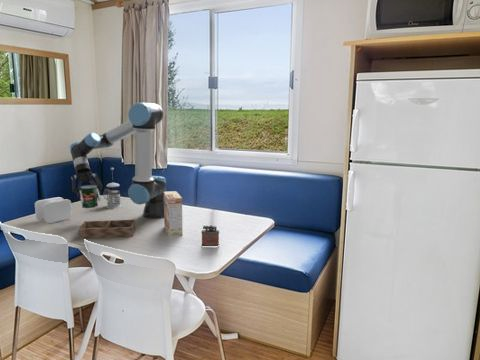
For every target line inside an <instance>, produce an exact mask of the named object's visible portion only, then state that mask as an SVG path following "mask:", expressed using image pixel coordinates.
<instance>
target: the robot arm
mask: <svg viewBox="0 0 480 360" xmlns="http://www.w3.org/2000/svg"><path fill="white" fill-rule="evenodd" d="M127 114H128V116H127V118H128V120H127V121H125V122H123V123H122V124H120V125H117V126H116V127H113V128H112V129H111V130H108V131H106V132H104V133H102V134H98V133H94V132H89V133H88V134H86V135H85V137H84V138H83V139H82V140H81V141H76V142H73V143H72V144H70V147H69V149H70V155H71V158H72V162H73V166H74V170H75V174H71V177H70V179H71V181H72V182H71V183H72V184H71V185H72V186H71V188H72V193H76V196H77V198H79V199H80V203H81V204H82V203H83V201H84V200H83V196H82V192H81V187H82V183H83V182H89V183H90V185H96V186H97V200H98V202H100V201H101V195H102V190H103V187H104V186H103V184H102V182H101V181H102V180H101V179H100V177H99V174H98V172H95V173H93V172H92V170H91V168H90V164H89V161H88V155H89V154H90V153H91V152H92V151H93V150H96V149H97V150H98V149H104V148H107V149H108V148H110V147H112V146H114V144H115V143H117V142H120V141H121V140H123V139H126V138H127V137H129V136H132V135H133V134H134V133H135V141H134V142H135V143H134V144H135V146H134V147H135V150H134V153H135V157H134V159H135V161H134V162H135V163H134V166H135V169H134V172H135V175H134V176H133V177H132V178H131V179H132V181H131V183H132V184H131V185H130V186H129V188H128V190H127V194H128V197H129V199H130V200H131V201H132V202H133V203H134V204H136V205H143V204H144V208H143V211H142V213H143V214H142V215H143V217H146V218H151V219H154V218H155V219H159V218H164V192H167V180H166V177H164V176H161V175H152V174H153V173H152V170H153V169H152V168H153V166H152V165H153V164H152V163H153V132H154V131H155V130H156V125H157V124H160V122H162V120H163V118H164V110H163V108H162V107H161V106H160V105H159V104H157V103H155V102H144V101H143V102H141V101H140V102H135V103H134V104H132V105H131V107H130V108H129V109H128V113H127ZM76 179H78V184H77V188H76ZM94 179H95V180H94ZM95 181H96V182H95Z"/></svg>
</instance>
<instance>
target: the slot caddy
mask: <svg viewBox="0 0 480 360" xmlns="http://www.w3.org/2000/svg"><path fill="white" fill-rule="evenodd" d="M136 227H137V226H136V219H116V220H115V219H113V220H85V221H83V223H82V224H81V225H80V226H79V228H78V229H77V234H78V239H79V238H81V239H100V238H101V239H102V238H126V237H127V238H129V237H133V236H134V234H135V231H136Z"/></svg>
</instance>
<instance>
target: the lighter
mask: <svg viewBox="0 0 480 360" xmlns="http://www.w3.org/2000/svg"><path fill="white" fill-rule="evenodd" d="M219 235H220V230H217V226H215V225H212V224H211V225H203V226H202V230H201V247H202V246H218V245H219V246H220V244H219V243H220V242H219V241H220V240H219V239H220V236H219Z"/></svg>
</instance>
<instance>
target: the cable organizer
mask: <svg viewBox="0 0 480 360" xmlns="http://www.w3.org/2000/svg"><path fill="white" fill-rule="evenodd" d="M34 210H35V211H34V212H35V213H34V214H35V219H36V220H39V221H44V222H45V223H47V224H54V223H55V224H56V223H57V222H60V221H62V222H63V221H68V220H70V218H72V216H73V214H72V213H73V212H72V201H71V200H70V199H68V198H66V199H64V198H63V197H60V196H57V197H51V198H50V197H49V198H44V199H39V200H37V201H35V202H34Z"/></svg>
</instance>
